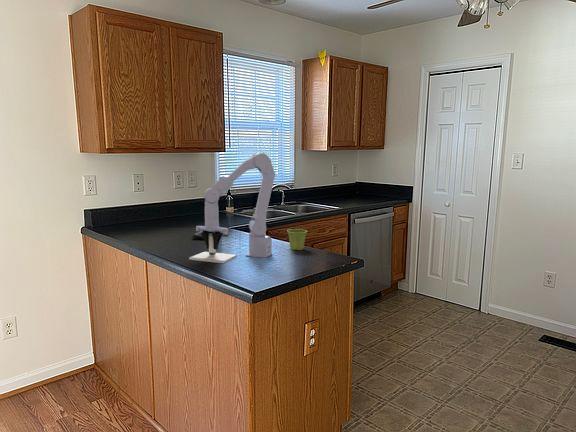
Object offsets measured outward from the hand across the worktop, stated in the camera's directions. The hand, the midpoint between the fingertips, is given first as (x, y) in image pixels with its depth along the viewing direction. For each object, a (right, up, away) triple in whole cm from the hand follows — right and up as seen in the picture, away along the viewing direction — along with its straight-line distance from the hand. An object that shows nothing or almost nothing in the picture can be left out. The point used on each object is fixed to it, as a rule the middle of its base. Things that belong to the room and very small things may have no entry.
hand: (212, 248), depth 181 cm
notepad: (+1, -4, -1) cm, 4 cm away
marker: (0, -2, 0) cm, 2 cm away
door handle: (-8, +2, +45) cm, 46 cm away
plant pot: (+36, -2, +18) cm, 41 cm away
